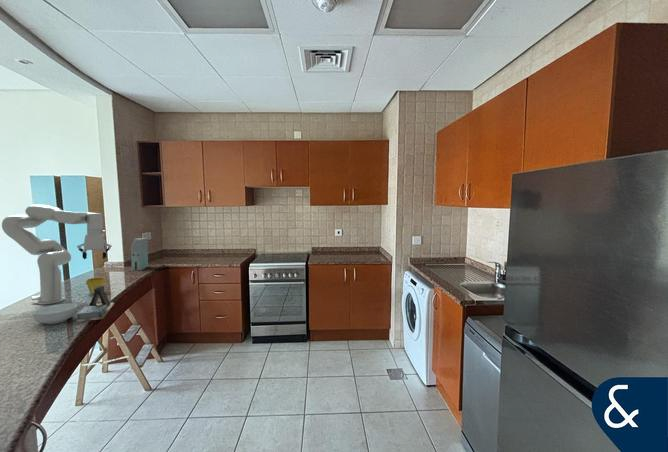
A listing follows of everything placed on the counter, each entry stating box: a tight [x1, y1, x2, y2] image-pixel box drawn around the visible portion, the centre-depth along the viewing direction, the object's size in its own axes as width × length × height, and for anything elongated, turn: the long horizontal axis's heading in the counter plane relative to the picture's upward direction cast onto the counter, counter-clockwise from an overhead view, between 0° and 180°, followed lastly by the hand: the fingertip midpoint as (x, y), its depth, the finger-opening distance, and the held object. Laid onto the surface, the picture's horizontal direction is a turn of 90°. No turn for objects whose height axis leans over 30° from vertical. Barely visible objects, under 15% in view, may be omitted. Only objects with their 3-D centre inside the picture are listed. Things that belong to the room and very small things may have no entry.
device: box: [130, 237, 149, 271], centre depth 279 cm, size 16×8×30 cm, turn 12°
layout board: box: [76, 302, 115, 323], centre depth 164 cm, size 11×26×1 cm, turn 27°
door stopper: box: [88, 286, 111, 307], centre depth 169 cm, size 9×6×12 cm, turn 112°
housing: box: [76, 305, 107, 321], centre depth 156 cm, size 10×12×3 cm
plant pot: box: [85, 277, 106, 295], centre depth 200 cm, size 10×10×10 cm
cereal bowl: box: [32, 303, 79, 325], centre depth 150 cm, size 17×17×7 cm
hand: (94, 258), depth 181 cm, fingers open, 9 cm apart
